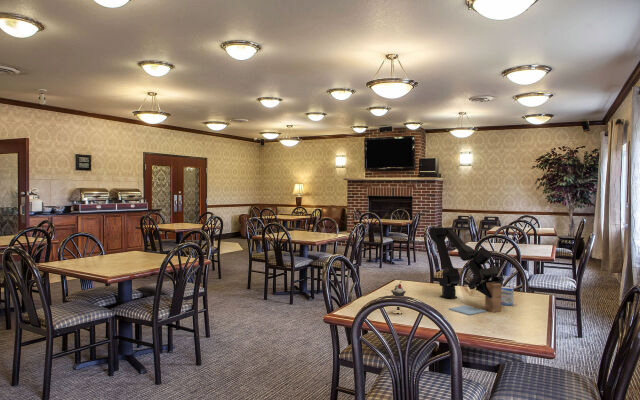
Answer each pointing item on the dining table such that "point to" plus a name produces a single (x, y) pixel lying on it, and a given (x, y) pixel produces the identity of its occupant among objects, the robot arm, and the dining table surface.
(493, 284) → the walnut block
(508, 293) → the medicine box
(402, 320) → the dining table surface
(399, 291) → the sundae
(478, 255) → the robot arm
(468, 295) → the dining table surface
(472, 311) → the slate mat
